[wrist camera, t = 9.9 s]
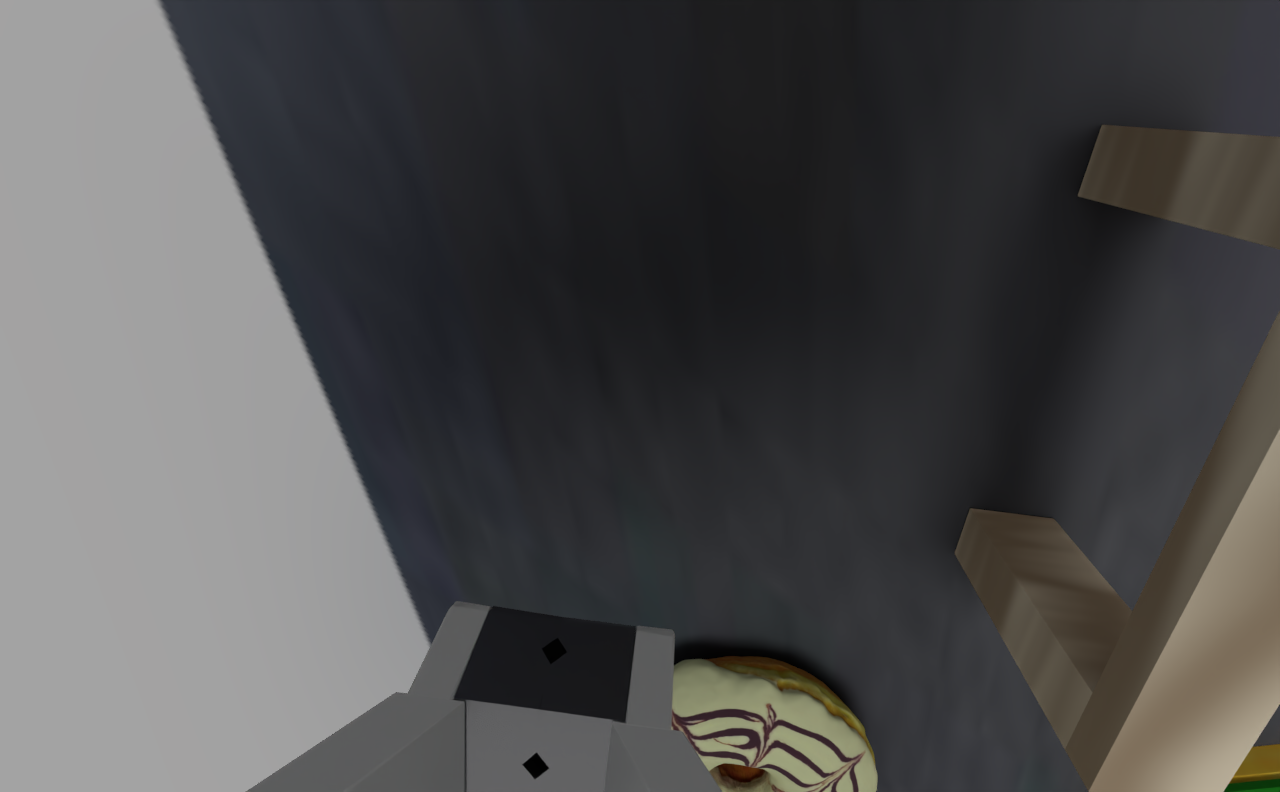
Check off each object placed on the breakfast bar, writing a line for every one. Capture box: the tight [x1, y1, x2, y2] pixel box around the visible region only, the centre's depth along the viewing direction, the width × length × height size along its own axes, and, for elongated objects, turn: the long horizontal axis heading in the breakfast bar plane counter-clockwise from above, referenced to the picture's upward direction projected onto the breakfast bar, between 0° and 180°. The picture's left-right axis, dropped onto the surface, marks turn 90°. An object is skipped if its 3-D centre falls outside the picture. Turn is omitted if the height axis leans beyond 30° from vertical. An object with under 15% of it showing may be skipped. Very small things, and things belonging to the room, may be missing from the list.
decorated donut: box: [671, 656, 877, 792], centre depth 29 cm, size 10×11×4 cm
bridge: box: [955, 125, 1280, 792], centre depth 18 cm, size 3×15×10 cm, turn 174°
